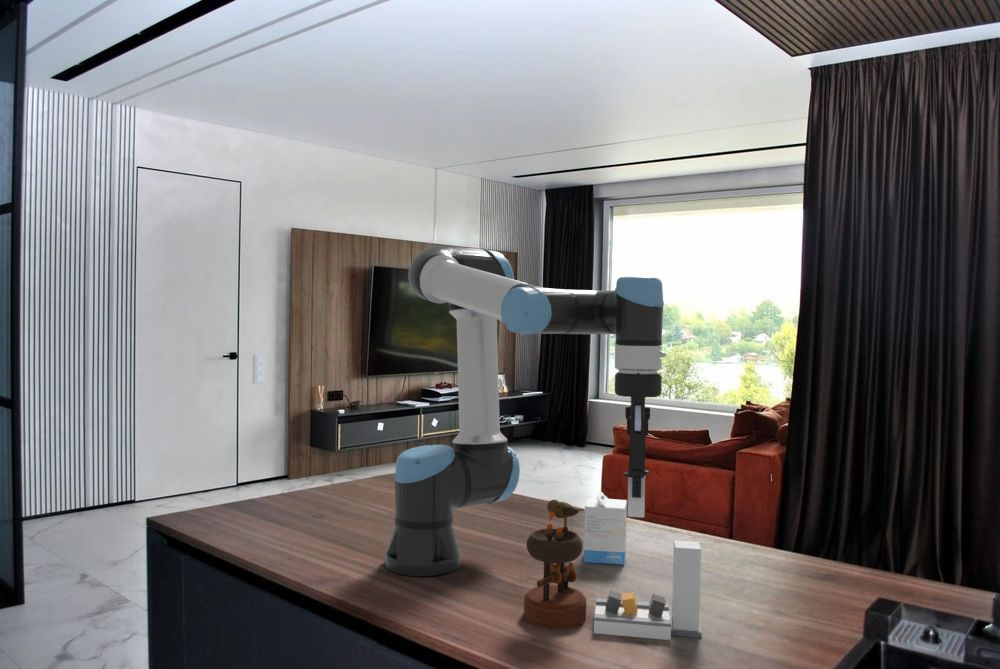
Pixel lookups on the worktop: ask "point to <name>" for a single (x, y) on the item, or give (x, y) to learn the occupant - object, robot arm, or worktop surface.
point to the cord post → (686, 589)
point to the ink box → (605, 530)
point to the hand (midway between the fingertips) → (635, 515)
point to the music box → (556, 574)
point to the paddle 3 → (656, 605)
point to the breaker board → (632, 622)
